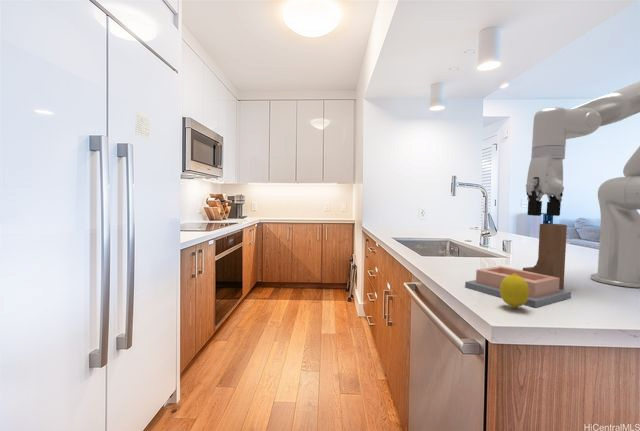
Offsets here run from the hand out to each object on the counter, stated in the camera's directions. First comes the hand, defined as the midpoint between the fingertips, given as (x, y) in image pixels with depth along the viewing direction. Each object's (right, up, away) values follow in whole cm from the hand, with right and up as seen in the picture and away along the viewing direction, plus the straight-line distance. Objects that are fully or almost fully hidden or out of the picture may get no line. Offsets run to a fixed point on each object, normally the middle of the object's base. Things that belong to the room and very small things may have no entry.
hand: (543, 215), depth 85 cm
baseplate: (-11, -20, -5) cm, 24 cm away
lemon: (-19, -21, -17) cm, 33 cm away
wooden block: (0, -20, +1) cm, 20 cm away
